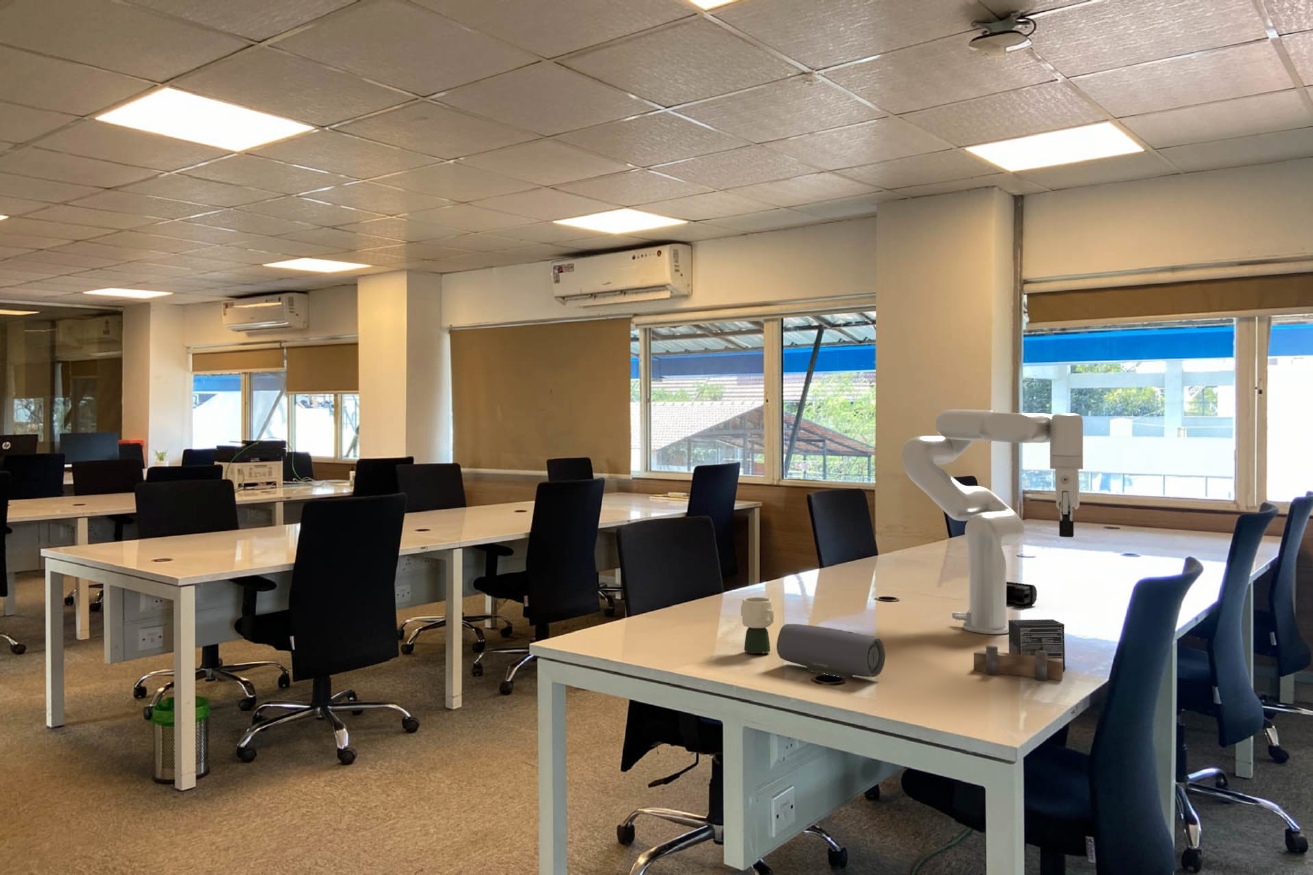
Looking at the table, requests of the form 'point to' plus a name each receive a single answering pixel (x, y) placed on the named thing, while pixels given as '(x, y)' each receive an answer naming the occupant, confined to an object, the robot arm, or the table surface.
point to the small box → (1037, 638)
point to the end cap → (1020, 595)
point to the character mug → (757, 623)
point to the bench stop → (1018, 664)
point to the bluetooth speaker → (831, 650)
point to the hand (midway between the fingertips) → (1066, 536)
